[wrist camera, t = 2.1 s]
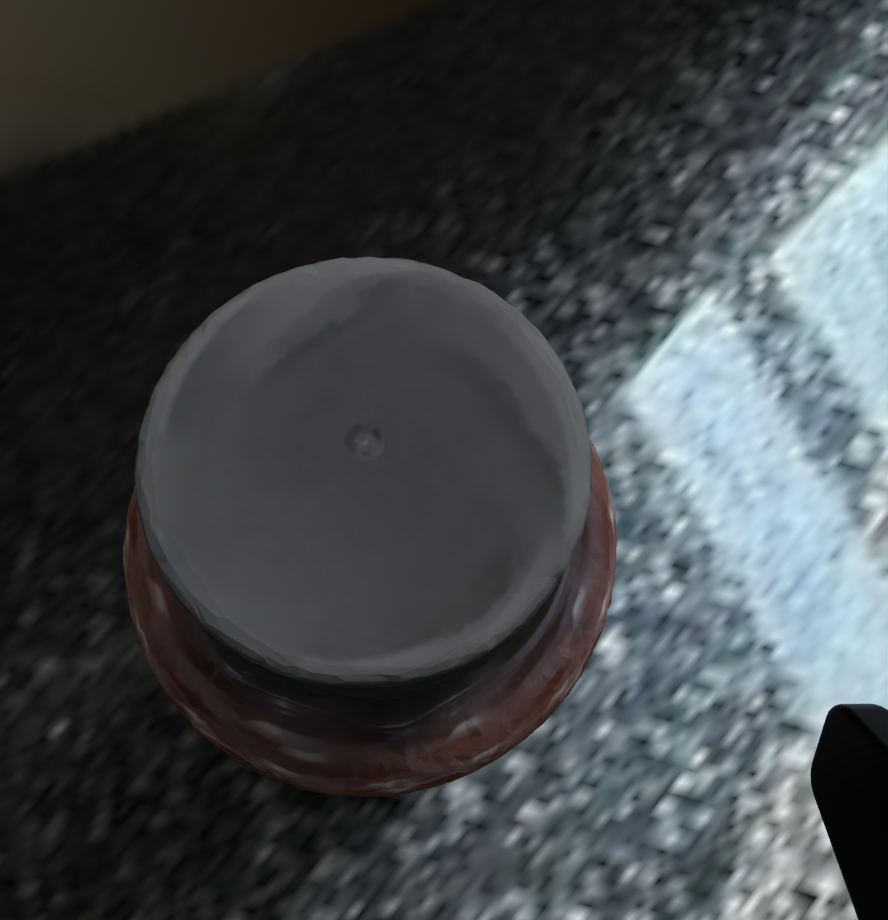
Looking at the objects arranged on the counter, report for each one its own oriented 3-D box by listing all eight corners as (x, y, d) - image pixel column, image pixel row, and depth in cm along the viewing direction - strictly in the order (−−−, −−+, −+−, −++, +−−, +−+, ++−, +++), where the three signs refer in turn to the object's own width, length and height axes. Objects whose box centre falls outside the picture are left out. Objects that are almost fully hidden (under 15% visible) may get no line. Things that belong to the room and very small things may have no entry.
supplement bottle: (191, 678, 17) (-171, 553, 6) (344, 454, 19) (269, 65, 8) (433, 834, 16) (494, 998, 5) (567, 583, 18) (807, 338, 7)
